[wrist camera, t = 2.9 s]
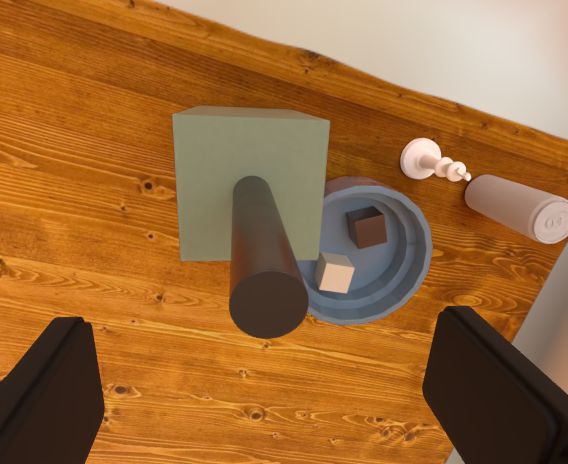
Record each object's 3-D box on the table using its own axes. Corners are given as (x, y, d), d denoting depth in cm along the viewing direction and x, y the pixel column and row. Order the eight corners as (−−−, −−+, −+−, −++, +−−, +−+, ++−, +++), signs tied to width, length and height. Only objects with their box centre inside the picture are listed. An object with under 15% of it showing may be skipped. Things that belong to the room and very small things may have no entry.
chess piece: (418, 129, 43) (468, 139, 34) (446, 153, 44) (502, 168, 35) (391, 164, 44) (433, 183, 35) (420, 186, 45) (467, 209, 36)
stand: (199, 105, 39) (171, 114, 22) (291, 109, 40) (330, 120, 24) (202, 195, 43) (180, 261, 26) (286, 196, 44) (318, 260, 27)
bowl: (281, 173, 43) (287, 184, 38) (422, 176, 45) (446, 187, 40) (275, 303, 49) (280, 327, 44) (399, 300, 51) (417, 322, 46)
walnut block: (345, 212, 45) (354, 222, 41) (373, 205, 45) (384, 214, 42) (349, 238, 46) (358, 249, 43) (376, 231, 46) (387, 242, 43)
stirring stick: (232, 175, 24) (228, 270, 11) (271, 175, 24) (312, 269, 11) (232, 212, 25) (229, 341, 12) (270, 212, 25) (306, 338, 12)
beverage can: (497, 205, 48) (576, 239, 37) (462, 213, 48) (531, 249, 36) (498, 169, 46) (581, 193, 35) (461, 177, 46) (534, 204, 35)
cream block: (320, 251, 46) (326, 263, 43) (346, 255, 47) (355, 267, 44) (313, 276, 47) (319, 289, 44) (339, 279, 48) (346, 293, 45)
